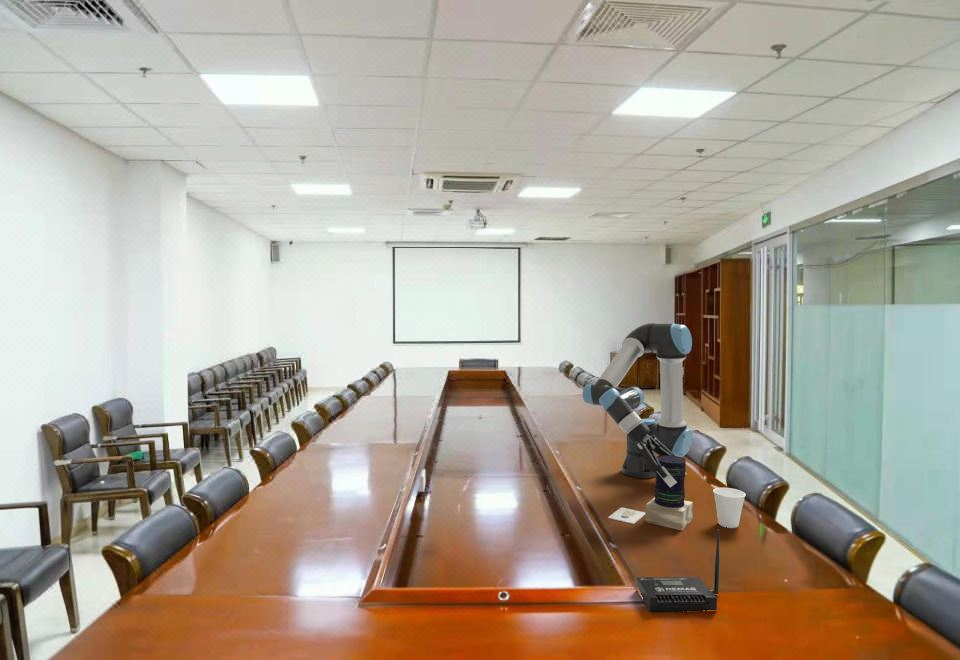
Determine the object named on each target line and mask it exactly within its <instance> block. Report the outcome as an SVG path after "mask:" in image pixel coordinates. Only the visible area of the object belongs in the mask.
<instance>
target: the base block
mask: <svg viewBox="0 0 960 660" xmlns="http://www.w3.org/2000/svg"><path fill="white" fill-rule="evenodd" d="M654 499H655V497H653V498H652V499H651V500H650V501H648V502H647V503H646V504H645V513H646V514H645V521H644V522H645V523H647V524H653V525H656V526H660V527H663V528H664V527H665V528H669V529H673V530H678V531H684V530H685V528H686V527H687V526H688V525H689V524H690V523H691V522H692V521H693V509H694V507H693V504H694V502H693V501H690V500H689V501H688V500H684V503H685V504H684V506H683V507H680V508H668V507H663V506H659V505H657V504H656V503H655V502H654Z"/></svg>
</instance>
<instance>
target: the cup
mask: <svg viewBox="0 0 960 660" xmlns="http://www.w3.org/2000/svg"><path fill="white" fill-rule="evenodd" d="M712 492H713V494H714V503H715V508H716V516H717V523H718V524H719V526H721V527H723V528H726V527H727V528H726V529H736V528H738V527H739V525H740V519H741V517H742V510H743V505H744V502H745V497H746V496H747V495H746V493H745V492H744V491H742V490H739V489H737V488H730V487H716V488H714V489H713V490H712Z"/></svg>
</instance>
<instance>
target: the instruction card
mask: <svg viewBox="0 0 960 660" xmlns="http://www.w3.org/2000/svg"><path fill="white" fill-rule="evenodd" d="M644 516H646V511H645V512H644V511H640V510H635V509H632V508H631V509H630V508H627V507H626V508H625V507H623V506H622V507H619V508H618V509H617V510H616V511H614V512H613V513H612V514H611V515H609V516H608V517H607V518H608V519H610V520H615V521H619V522H623V523H626V524H632V525H634V524H636V523H637V522H638V521H639V520H641V519H642V518H643V517H644Z"/></svg>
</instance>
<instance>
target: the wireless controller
mask: <svg viewBox="0 0 960 660" xmlns="http://www.w3.org/2000/svg"><path fill="white" fill-rule="evenodd" d="M716 531H717V532H716V549H715V557H714V579H713V589H710V588H709V587H708V586H707V585H706V584H705V582H703V580H702V579H701V578H700V576H697V577H696V576H691V577H690V576H686V577H685V576H680V577H679V576H678V577H677V576H676V577H674V576H672V577H671V576H668V577H665V576H663V577H659V576H658V577H657V576H656V577H650V576H649V577H636V583H635V585H637V587H638V588H639V590H640V592H641V595H642V597H643V601H642V602H644V603H643V604H644V605H645V607H646V609H647V610H648V612H649V613H651V614H652V613H654V614H655V613H656V614H657V613H660V614H661V613H666V614H667V612H668V613H688V612H687V611H703V610H705V611H707V610H717V605H718V598H717V597H718V596H715V595H714V594H719V593H720V592H719V591H720V590H719V589H720V569H721V568H720V565H721V564H720V562H721V561H720V560H721V559H720V533H721V532H720V529H717V530H716ZM719 595H720V594H719ZM683 611H684V612H683ZM717 611H718V610H717Z"/></svg>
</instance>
